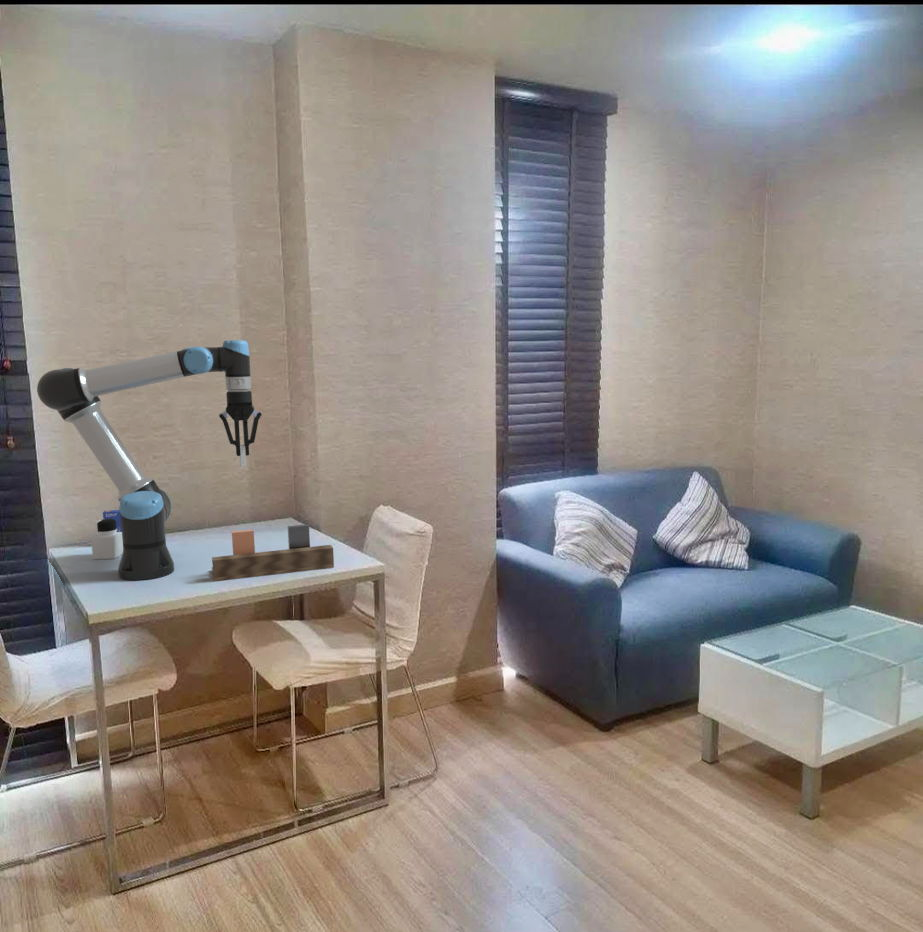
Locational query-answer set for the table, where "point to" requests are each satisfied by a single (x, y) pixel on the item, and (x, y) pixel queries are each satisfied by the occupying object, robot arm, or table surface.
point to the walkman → (113, 515)
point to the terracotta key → (243, 542)
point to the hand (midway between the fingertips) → (243, 465)
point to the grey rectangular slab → (298, 536)
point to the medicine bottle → (107, 540)
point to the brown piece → (272, 562)
